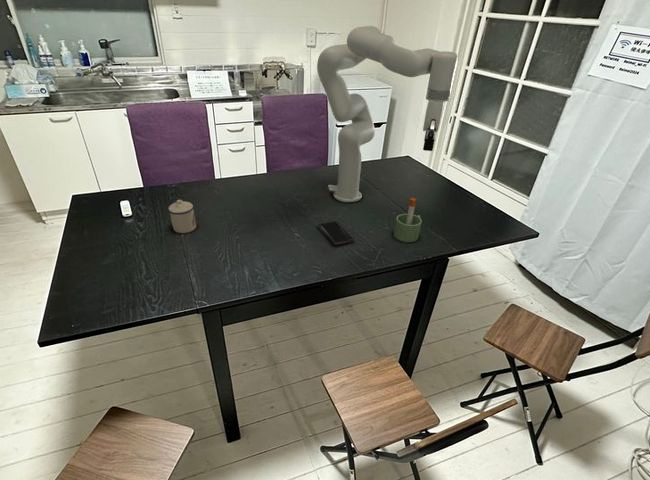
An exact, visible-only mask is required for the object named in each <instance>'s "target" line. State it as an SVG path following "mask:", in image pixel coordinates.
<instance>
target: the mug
mask: <svg viewBox="0 0 650 480" xmlns="http://www.w3.org/2000/svg"><path fill="white" fill-rule="evenodd" d="M407 215H408V213H401V214H398V215H397V216H396V218H395V223H394V230H393V237H394V238H395V239H396V240H397V241H400V242H404V243H414V242H417V241H418V240H419V238H420V237H419V236H420V233H421V228H422V225H423V224H422V222H423V220H422V217H421V215H420V214H419V215H416V214H413V218H412V223H411V225H407V224H406V220H407Z"/></svg>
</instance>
